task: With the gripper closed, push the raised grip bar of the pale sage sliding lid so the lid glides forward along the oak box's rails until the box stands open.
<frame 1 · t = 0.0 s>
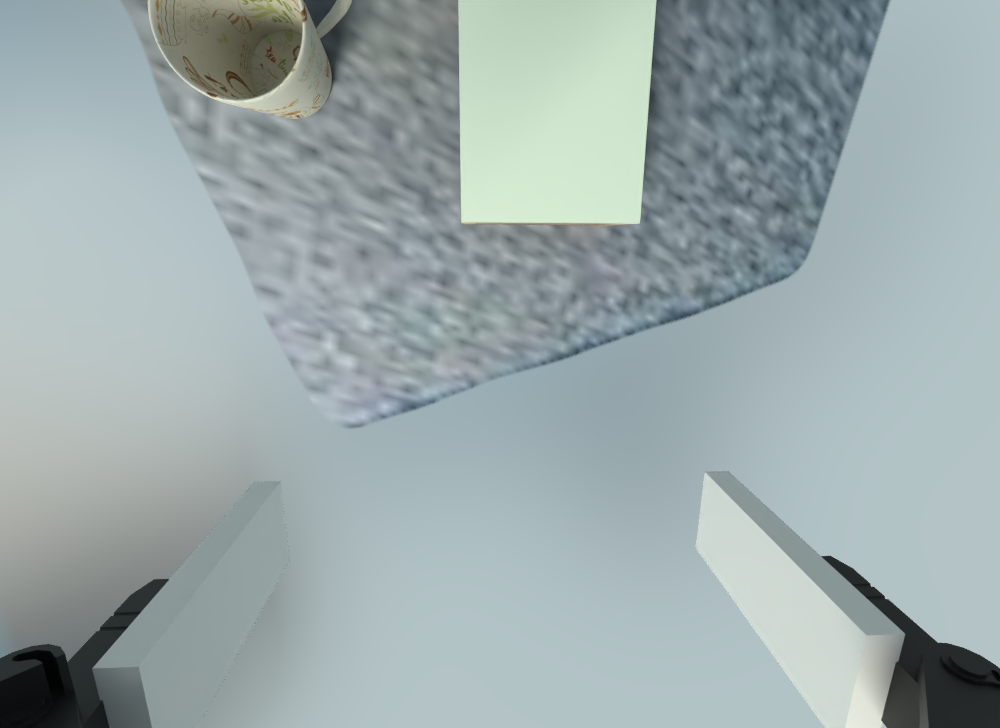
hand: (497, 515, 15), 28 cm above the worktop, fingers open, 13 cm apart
mug: (310, 53, 37), on the worktop
lid: (557, 51, 30), point 8 cm above the worktop, slide at 0.0 cm
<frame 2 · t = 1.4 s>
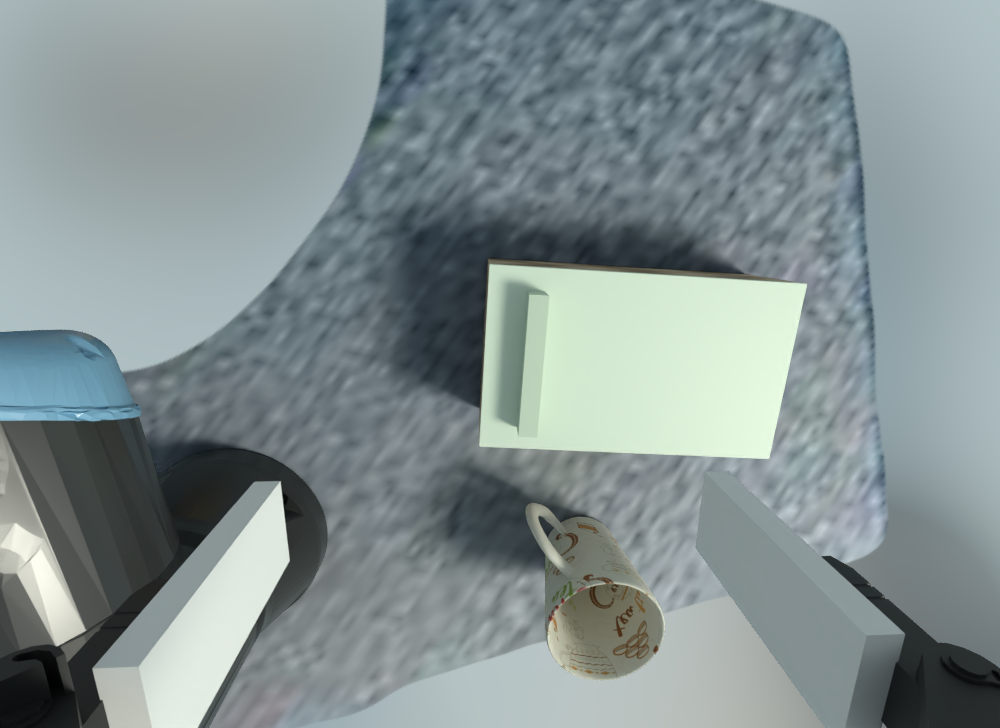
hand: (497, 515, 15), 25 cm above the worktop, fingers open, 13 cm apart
mug: (563, 528, 44), on the worktop
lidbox: (609, 342, 39), on the worktop
lid: (639, 369, 32), point 8 cm above the worktop, slide at 0.0 cm
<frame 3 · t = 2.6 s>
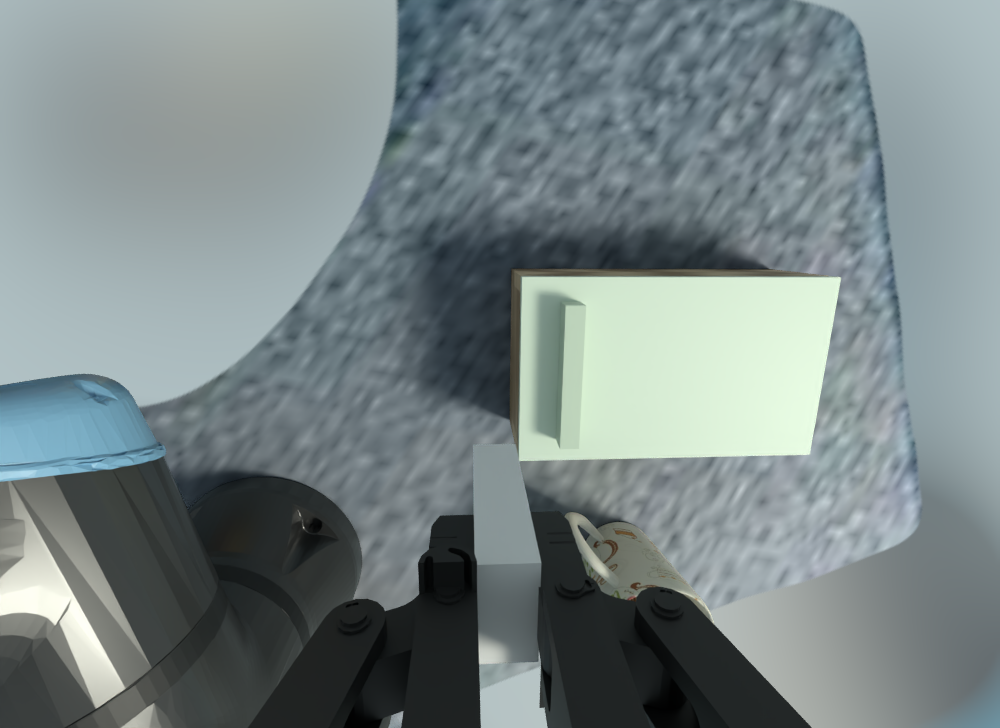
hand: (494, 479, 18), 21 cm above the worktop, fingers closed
mug: (599, 535, 44), on the worktop
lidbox: (637, 346, 39), on the worktop
lid: (677, 373, 32), point 8 cm above the worktop, slide at 0.0 cm
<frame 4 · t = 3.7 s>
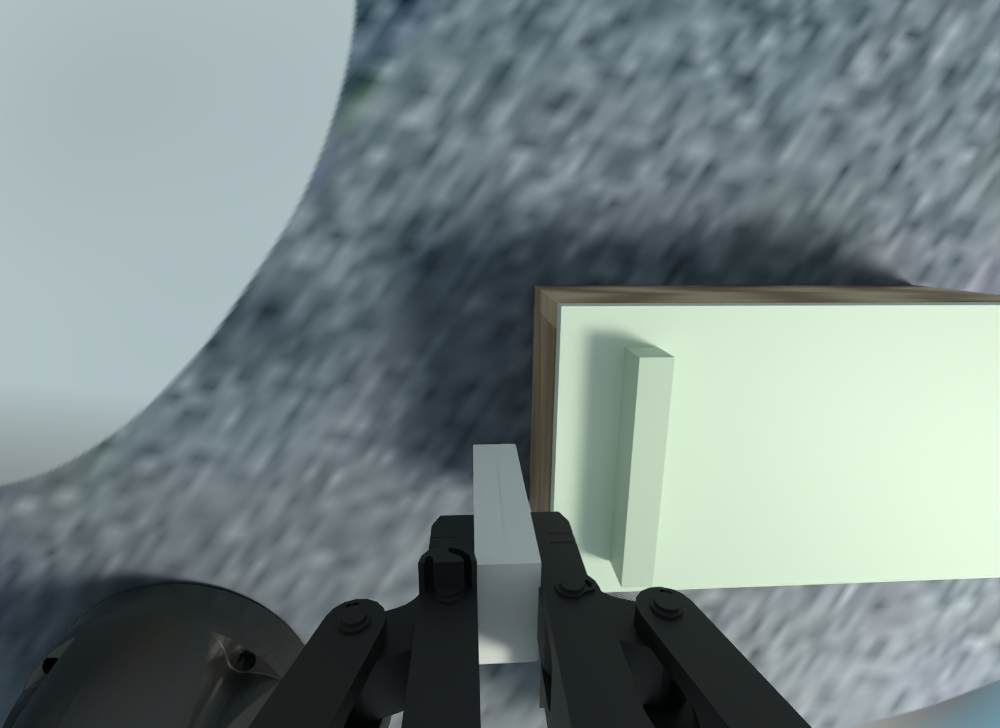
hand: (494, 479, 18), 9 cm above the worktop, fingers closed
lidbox: (714, 396, 27), on the worktop
lid: (812, 460, 19), point 8 cm above the worktop, slide at 0.0 cm
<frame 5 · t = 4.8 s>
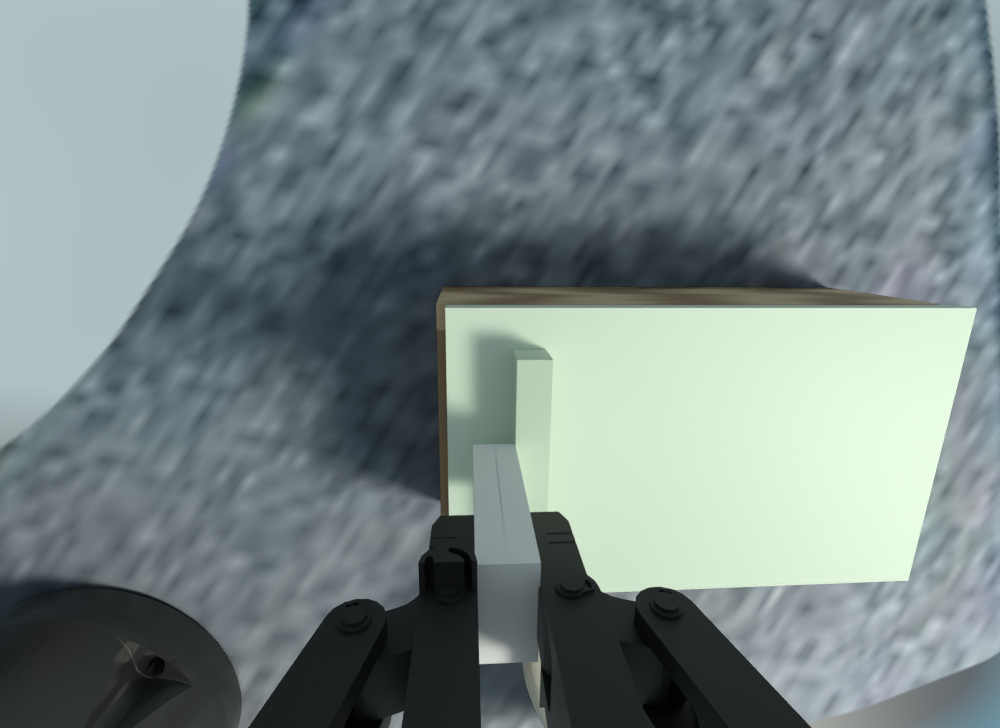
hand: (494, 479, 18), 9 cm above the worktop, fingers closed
mug: (578, 655, 31), on the worktop
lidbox: (631, 398, 27), on the worktop
lid: (707, 463, 19), point 8 cm above the worktop, slide at 0.4 cm, touching gripper
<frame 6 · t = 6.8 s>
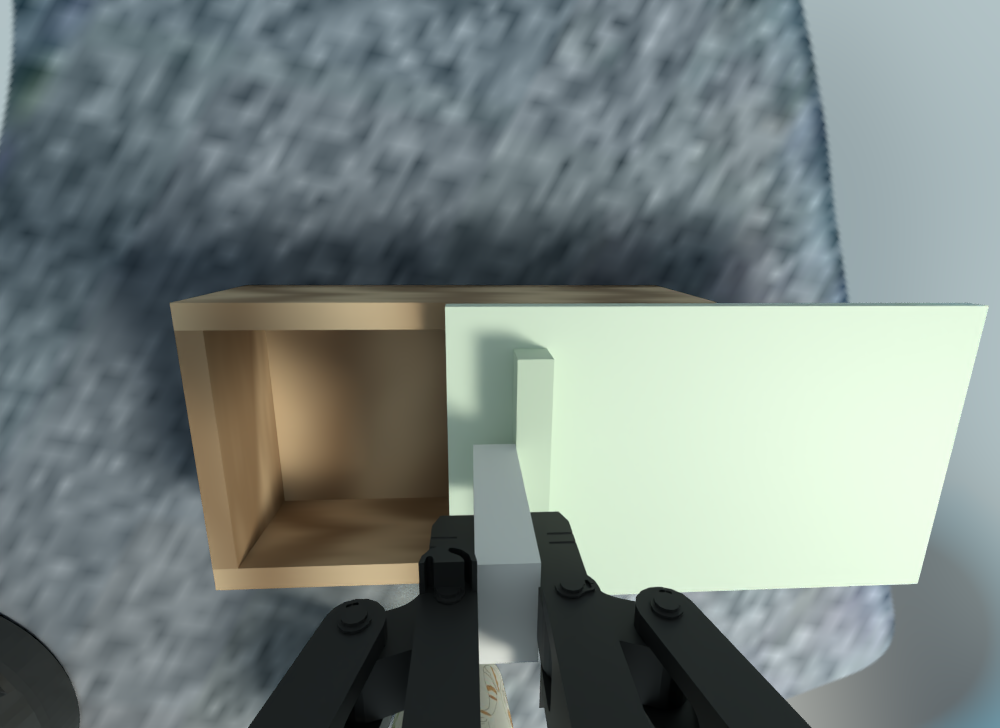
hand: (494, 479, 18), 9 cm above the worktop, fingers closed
mug: (429, 663, 30), on the worktop
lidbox: (458, 400, 26), on the worktop
lid: (711, 464, 19), point 8 cm above the worktop, slide at 9.8 cm, touching gripper
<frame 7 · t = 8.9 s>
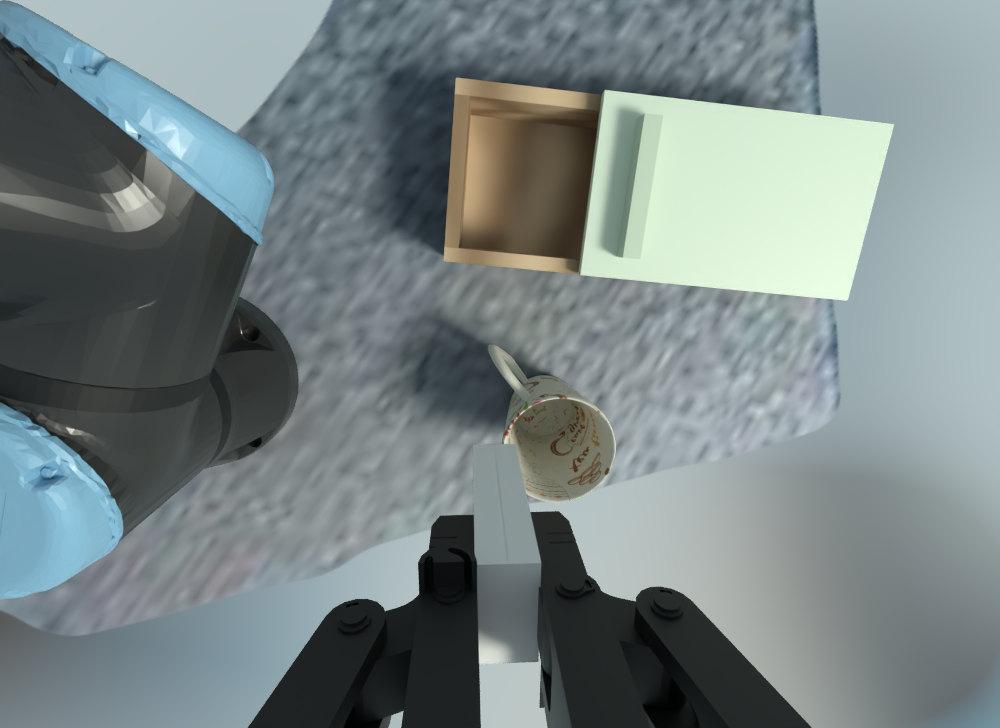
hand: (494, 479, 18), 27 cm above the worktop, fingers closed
mug: (528, 388, 45), on the worktop
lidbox: (574, 195, 41), on the worktop
lid: (736, 201, 34), point 8 cm above the worktop, slide at 9.8 cm
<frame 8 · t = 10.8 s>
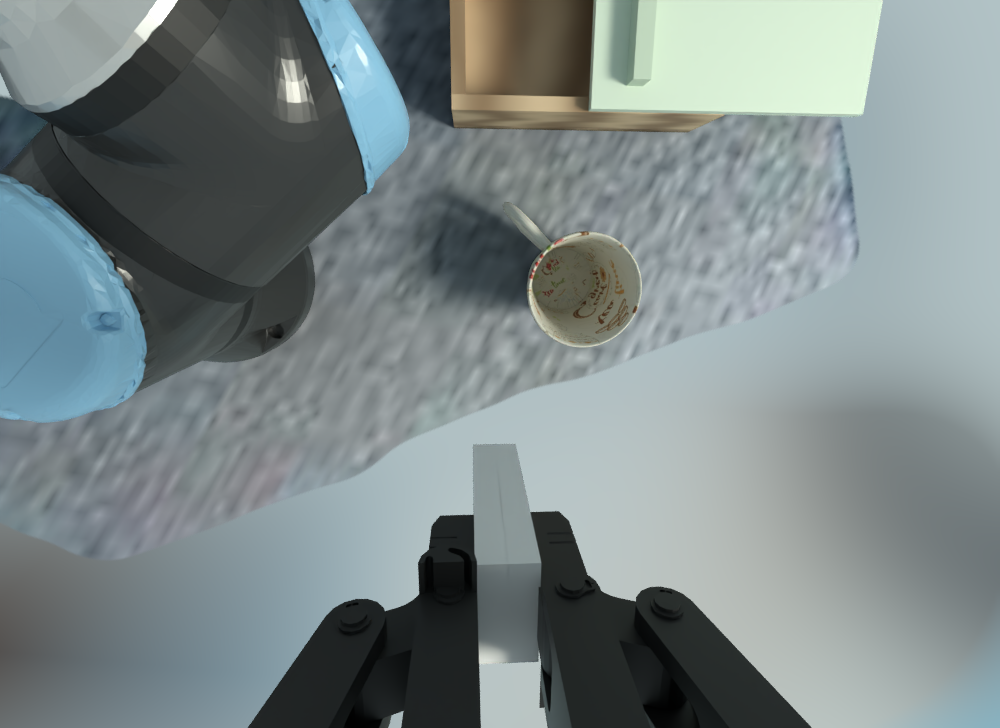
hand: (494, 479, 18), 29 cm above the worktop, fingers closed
mug: (544, 261, 45), on the worktop
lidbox: (575, 50, 41), on the worktop
lid: (743, 13, 34), point 8 cm above the worktop, slide at 9.8 cm
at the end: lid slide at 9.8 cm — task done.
